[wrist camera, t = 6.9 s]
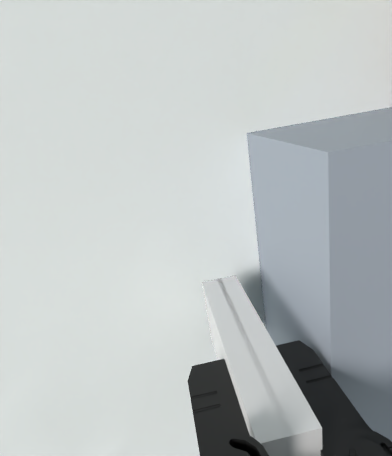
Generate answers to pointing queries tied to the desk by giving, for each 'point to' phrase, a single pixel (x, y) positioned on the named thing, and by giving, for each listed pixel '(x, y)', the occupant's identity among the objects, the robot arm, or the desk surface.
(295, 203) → the slate block
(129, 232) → the desk surface
